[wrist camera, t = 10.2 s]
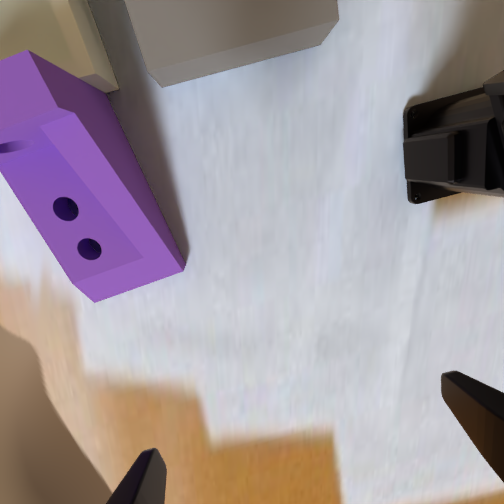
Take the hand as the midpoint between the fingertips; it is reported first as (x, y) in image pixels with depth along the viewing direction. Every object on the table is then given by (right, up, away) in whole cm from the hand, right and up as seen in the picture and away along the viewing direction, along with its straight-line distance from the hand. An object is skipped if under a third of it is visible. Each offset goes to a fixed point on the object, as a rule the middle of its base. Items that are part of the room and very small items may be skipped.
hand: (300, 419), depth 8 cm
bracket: (-12, +8, +11) cm, 18 cm away
